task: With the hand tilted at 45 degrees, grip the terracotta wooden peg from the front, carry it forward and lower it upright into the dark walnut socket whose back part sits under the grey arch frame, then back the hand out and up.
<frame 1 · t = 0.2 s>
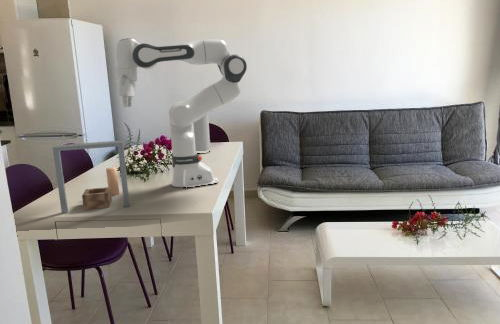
hand: (127, 106, 197), 38 cm above the table, tool pointing down, fingers open, 8 cm apart
grey arch frame: (93, 176, 174), on the table
cylinder vase: (201, 152, 291), on the table
perfume bottle: (142, 171, 242), on the table
walnut socket: (98, 204, 181), on the table
terracotta peg: (114, 194, 196), on the table
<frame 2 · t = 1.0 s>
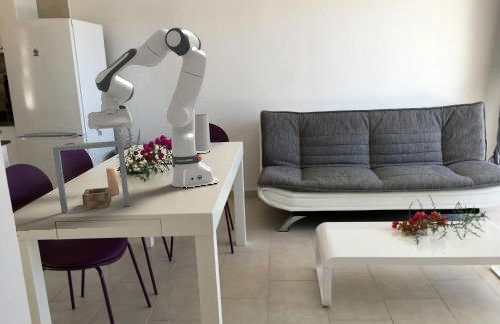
hand: (110, 134, 203), 26 cm above the table, tool tilted 45°, fingers open, 8 cm apart
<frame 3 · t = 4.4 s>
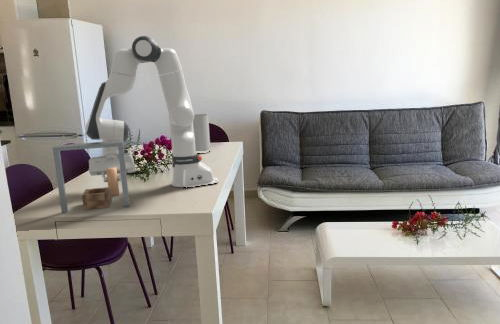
hand: (112, 180, 194), 6 cm above the table, tool tilted 45°, fingers closed on terracotta peg, 4 cm apart
terracotta peg: (114, 194, 196), on the table, touching gripper
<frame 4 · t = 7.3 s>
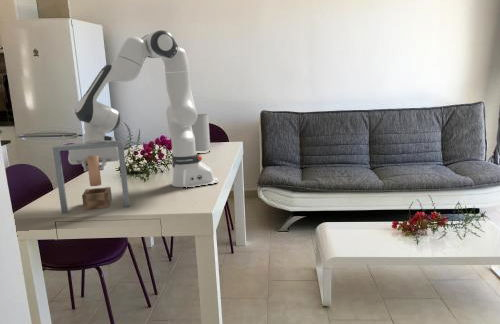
hand: (93, 170, 178), 15 cm above the table, tool tilted 45°, fingers closed on terracotta peg, 4 cm apart
terracotta peg: (95, 184, 180), point 9 cm above the table, touching gripper
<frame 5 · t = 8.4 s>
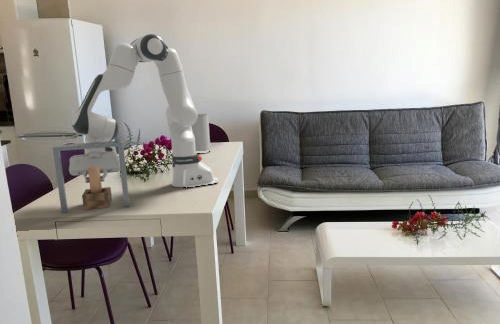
hand: (94, 181, 178), 10 cm above the table, tool tilted 45°, fingers closed on terracotta peg, 4 cm apart
terracotta peg: (96, 195, 180), point 4 cm above the table, touching gripper
when the fingers open (9 cm above the table, at t = 9.0 s): terracotta peg drops 2 cm, resting on walnut socket.
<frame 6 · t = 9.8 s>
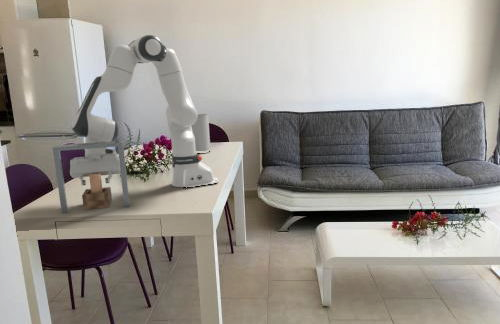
hand: (95, 183, 178), 9 cm above the table, tool tilted 45°, fingers open, 8 cm apart
terracotta peg: (98, 202, 181), point 1 cm above the table, touching walnut socket
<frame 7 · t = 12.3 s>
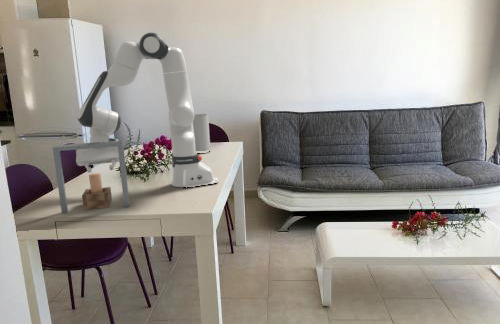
hand: (100, 170, 191), 12 cm above the table, tool tilted 45°, fingers open, 8 cm apart
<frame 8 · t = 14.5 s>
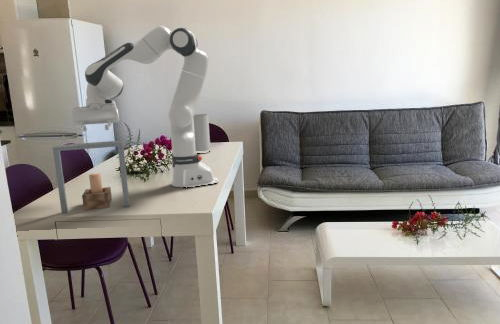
hand: (95, 130, 192), 29 cm above the table, tool tilted 45°, fingers open, 8 cm apart
at the end: terracotta peg 0.1 cm off-centre on the walnut socket, point 1.0 cm above the walnut socket's base; terracotta peg tilted 1°; the gripper is holding nothing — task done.
